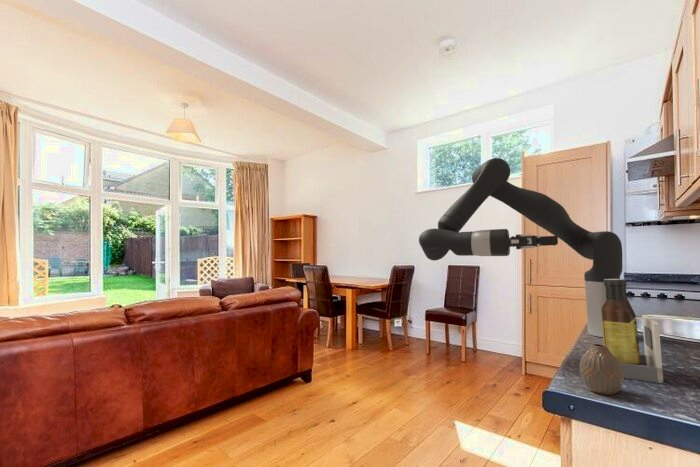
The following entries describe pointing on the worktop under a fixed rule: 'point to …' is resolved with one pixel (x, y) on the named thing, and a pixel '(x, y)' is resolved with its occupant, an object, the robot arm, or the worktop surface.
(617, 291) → the sauce bottle
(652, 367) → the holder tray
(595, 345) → the vase
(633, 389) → the worktop surface
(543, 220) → the robot arm
